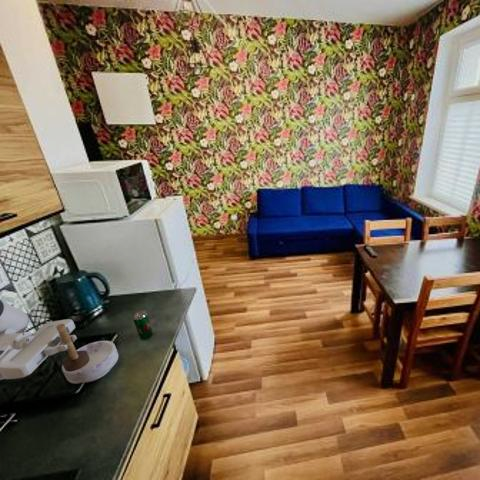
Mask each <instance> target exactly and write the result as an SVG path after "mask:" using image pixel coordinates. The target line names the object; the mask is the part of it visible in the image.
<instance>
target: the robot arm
mask: <svg viewBox="0 0 480 480" xmlns="http://www.w3.org/2000/svg"><path fill="white" fill-rule="evenodd" d="M29 323H30V316H29V315H28V313H26V312H25V311H23V310H22V309H19V308H17V307H15V306H13V305H11V304H10V303H7V302H6V301H4V300H2V299H0V381H2V380H16V379H22V378H25V377H27V376H30V375H31V374H32V373H33V372H34V371H35V370H36V369H37V368H38V367H39V366H40V365H41V364H42V363H43V362H44V361H45V360H46V359H47V358H48V357H50V356H53V355H55V354H57V353H60V352H65V351H66V352H67V349H68V348H69V347H70V345H69V343H63V341H62V339H61V337H60V335H59V333H58V330H57V328H56V326H58V325H59V324H64V325H65V327H66V329H67V331H68V334H69V336H70V338H71V340H72V342H73V343H75V341H77V339H78V337H77V336H76V335H75V334H71V333H72V332H73V331H74V330H75V329H76V324H75V323H74V320H73V319H71V318H66V319H60V320H59V319H58V320H54V321H50V322H47V323H45V324H43V325H42V326H41V327H39V328H38V329H37V330H36V331H34V333H32V332H29V331H26V330H27V327H28V325H29ZM70 334H71V335H70Z"/></svg>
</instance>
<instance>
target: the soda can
mask: <svg viewBox="0 0 480 480" xmlns="http://www.w3.org/2000/svg"><path fill="white" fill-rule="evenodd" d="M132 317H133V318H132V320H133V322H134V325H135V329H136V331H137V332H136V333H137V335H138V338H139V339H140V340H142V341H146V340H149V339H150V338H152V337H153V335H154V331H153V328H152V324H151V322H150V318H149V315H148V312H146V311H145V310H140V311H137V312H135V313H134V314H133V316H132Z"/></svg>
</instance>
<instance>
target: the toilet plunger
mask: <svg viewBox="0 0 480 480" xmlns="http://www.w3.org/2000/svg"><path fill="white" fill-rule="evenodd" d="M56 328H57V330H58V333H59V335H60V337H61V339H62V341H63V342H62V343H69V345H70V347H69V348H68V349H67V350H66V352H67V356H66V357H64V358H63V359H62V361H61V364H62V365H63V366H64V369H65V370H66V371H68V372H71V371H75V370H78V369H80V368H82V367H84V366H85V365H86V364H87V363H88V362H89V360H90V358H89V355H88V353H87V351H84V350H81V351H76V350H77V349H76V347H75V345H74V342H72V340H71V338H70V336H69V335H70V334H68V331H67V329H66V327H65V325H64V324H59V325H58V326H56Z"/></svg>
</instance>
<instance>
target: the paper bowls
mask: <svg viewBox="0 0 480 480" xmlns="http://www.w3.org/2000/svg"><path fill="white" fill-rule="evenodd" d="M81 350H84V351H87V353H88V355H89V358H90V360H89V362H88V363H87V364H86V365H85V366H84V367H82V368H80V369H78V370H75V371H71V372H68V371H66V370H65V369H64V366H63V364H62V365H61V371H62V373H63V375H64V377H65V378H66V380H67V381H68V383H71V384H77V385H78V384H82V383H84V384H85V383H91V382H94V381H96V380H99V379H101V378H102V377H104V376H105V375H107V374H108V373H109V372H110V371H111V369H112V368H113V367H114V366H115V365H116V364H117V362H118V361H119V353H118V349H117V347H116V345H115V343H114V342H113V341H110V340H98V341H94V342H89V343H88V344H85V345H83V346H81V347H79V348H78V349H76V351H81Z"/></svg>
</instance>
